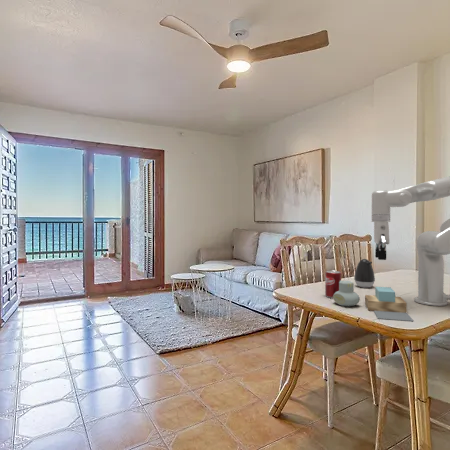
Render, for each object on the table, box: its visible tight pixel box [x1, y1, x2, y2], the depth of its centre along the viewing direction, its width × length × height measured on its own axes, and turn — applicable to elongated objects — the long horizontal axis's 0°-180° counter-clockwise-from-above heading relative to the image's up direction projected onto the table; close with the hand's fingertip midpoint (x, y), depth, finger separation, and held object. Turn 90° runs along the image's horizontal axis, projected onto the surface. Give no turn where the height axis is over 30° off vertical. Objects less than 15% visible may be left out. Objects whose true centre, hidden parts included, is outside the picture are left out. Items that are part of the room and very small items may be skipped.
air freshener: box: [332, 280, 361, 307], centre depth 142 cm, size 11×8×10 cm
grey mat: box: [373, 311, 414, 322], centre depth 126 cm, size 12×10×1 cm
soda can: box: [324, 270, 342, 299], centre depth 156 cm, size 7×7×12 cm
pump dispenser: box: [353, 258, 376, 289], centre depth 176 cm, size 10×10×15 cm
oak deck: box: [364, 294, 408, 314], centre depth 136 cm, size 14×10×4 cm
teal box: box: [374, 286, 396, 302], centre depth 136 cm, size 6×9×4 cm, turn 163°
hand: (380, 258), depth 145 cm, fingers open, 6 cm apart
